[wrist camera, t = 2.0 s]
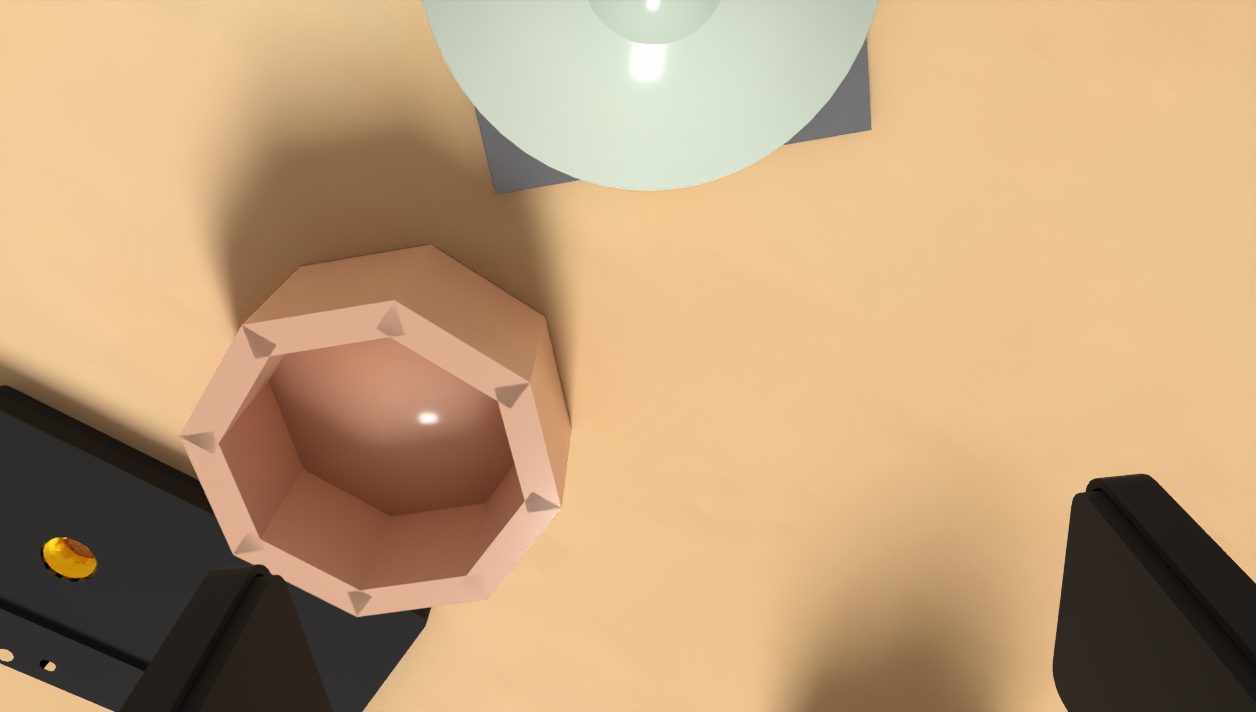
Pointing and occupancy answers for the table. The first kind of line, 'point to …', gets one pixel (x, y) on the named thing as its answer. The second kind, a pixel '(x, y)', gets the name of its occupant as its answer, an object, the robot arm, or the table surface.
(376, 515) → the bowl
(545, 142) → the lid
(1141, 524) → the robot arm
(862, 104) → the mat
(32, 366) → the table surface
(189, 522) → the cassette tape
